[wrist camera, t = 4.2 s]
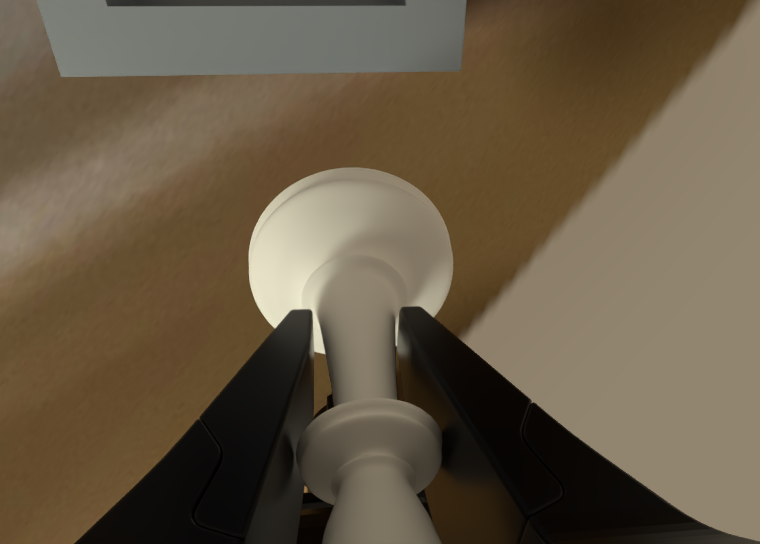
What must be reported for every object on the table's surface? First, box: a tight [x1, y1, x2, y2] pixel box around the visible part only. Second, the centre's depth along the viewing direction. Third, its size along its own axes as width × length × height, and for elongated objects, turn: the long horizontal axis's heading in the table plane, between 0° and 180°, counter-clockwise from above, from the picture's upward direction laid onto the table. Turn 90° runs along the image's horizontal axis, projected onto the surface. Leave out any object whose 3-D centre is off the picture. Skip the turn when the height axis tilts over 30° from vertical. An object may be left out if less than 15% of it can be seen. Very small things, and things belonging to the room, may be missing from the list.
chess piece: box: [249, 168, 453, 544], centre depth 7 cm, size 5×5×10 cm
